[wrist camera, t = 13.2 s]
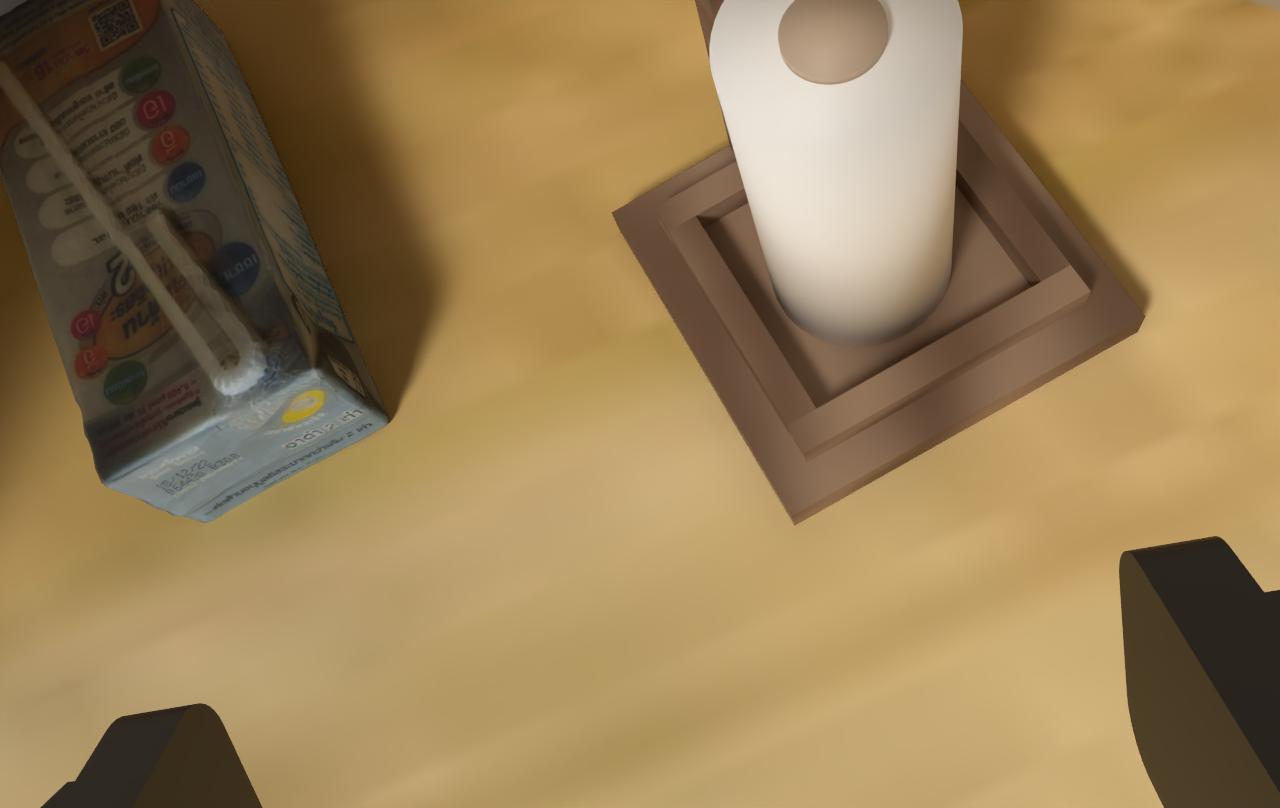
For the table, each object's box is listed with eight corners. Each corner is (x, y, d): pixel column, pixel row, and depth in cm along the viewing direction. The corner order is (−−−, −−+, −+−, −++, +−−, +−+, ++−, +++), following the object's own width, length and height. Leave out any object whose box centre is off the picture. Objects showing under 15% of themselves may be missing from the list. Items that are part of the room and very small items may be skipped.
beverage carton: (195, 540, 41) (74, 490, 35) (54, 125, 49) (-67, 24, 43) (401, 430, 41) (315, 360, 35) (229, 29, 48) (132, -86, 42)
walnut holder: (794, 525, 37) (742, 364, 24) (619, 229, 42) (495, -40, 29) (1137, 331, 37) (1268, 66, 24) (924, 55, 42) (938, -294, 29)
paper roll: (825, 379, 37) (781, 187, 26) (739, 239, 39) (665, 5, 28) (986, 290, 37) (1014, 56, 26) (892, 154, 39) (879, -117, 28)
